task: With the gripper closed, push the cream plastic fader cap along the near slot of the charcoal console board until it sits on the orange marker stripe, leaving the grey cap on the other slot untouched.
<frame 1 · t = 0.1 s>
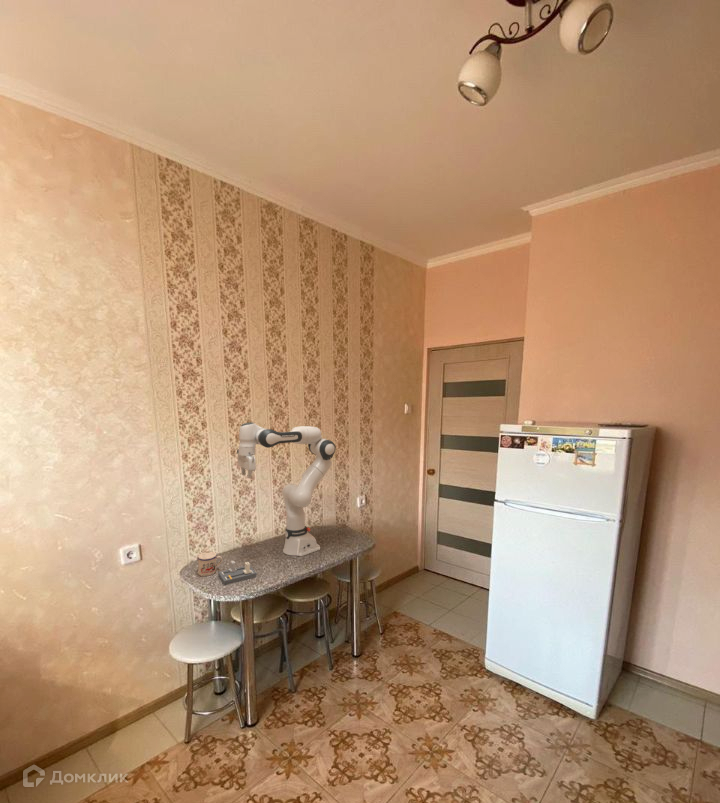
hand: (246, 476, 202), 48 cm above the table, fingers open, 8 cm apart
teacup with lid: (210, 572, 190), on the table
console: (237, 576, 186), on the table
fader cap: (247, 567, 186), point 5 cm above the table, slide at 0.0 cm
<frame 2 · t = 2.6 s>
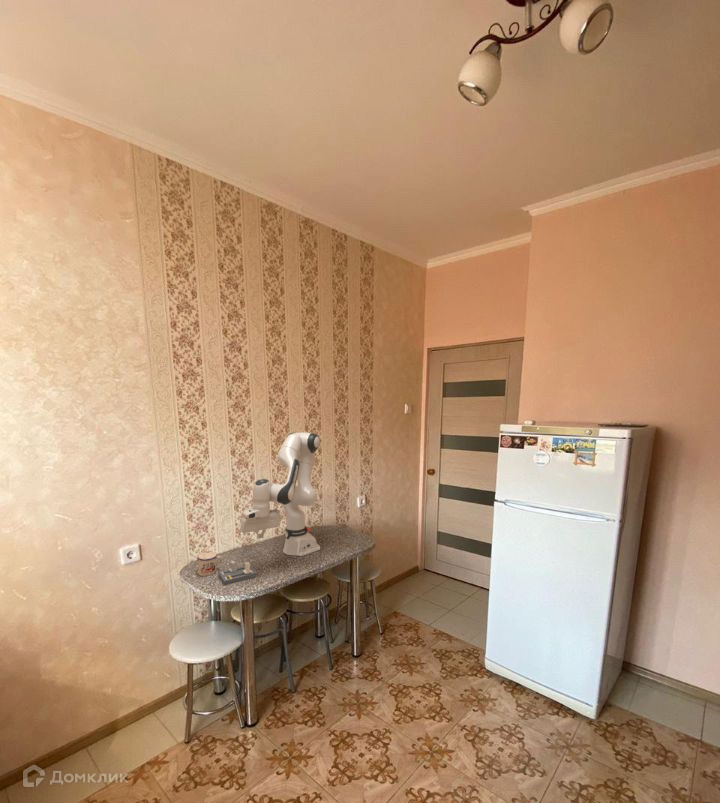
hand: (260, 537, 189), 19 cm above the table, fingers closed
nothing on the table moved.
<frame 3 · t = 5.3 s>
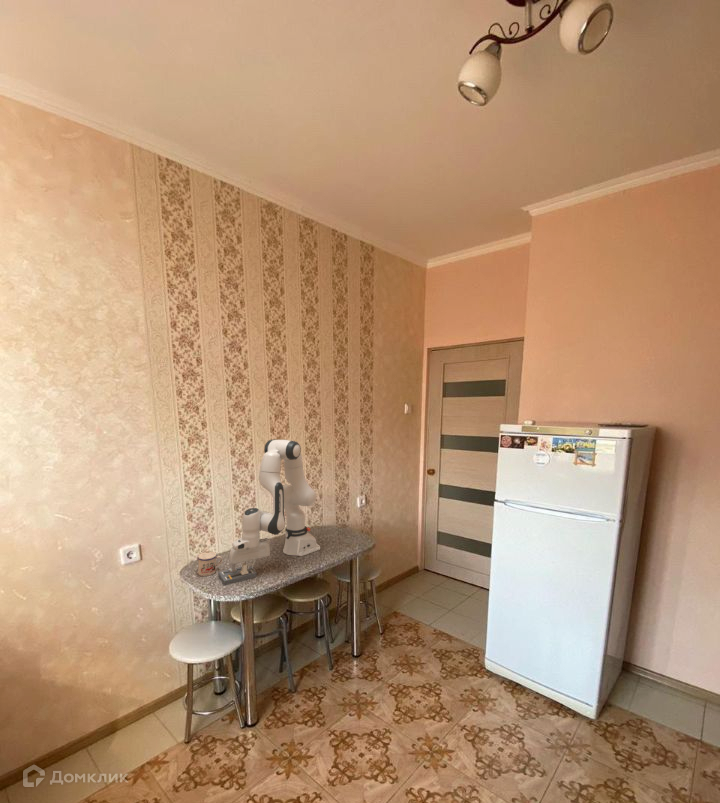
hand: (249, 568, 186), 4 cm above the table, fingers closed
fader cap: (244, 568, 185), point 5 cm above the table, slide at 1.5 cm, touching gripper
everything else where it was.
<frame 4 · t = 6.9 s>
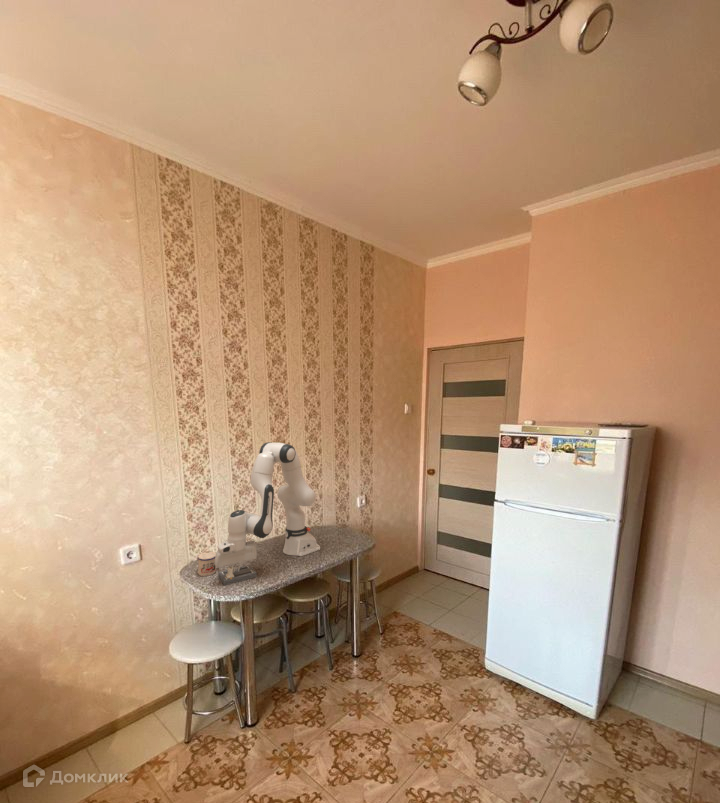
hand: (235, 571, 182), 4 cm above the table, fingers closed
fader cap: (230, 571, 181), point 5 cm above the table, slide at 8.6 cm, touching gripper
everything else where it was.
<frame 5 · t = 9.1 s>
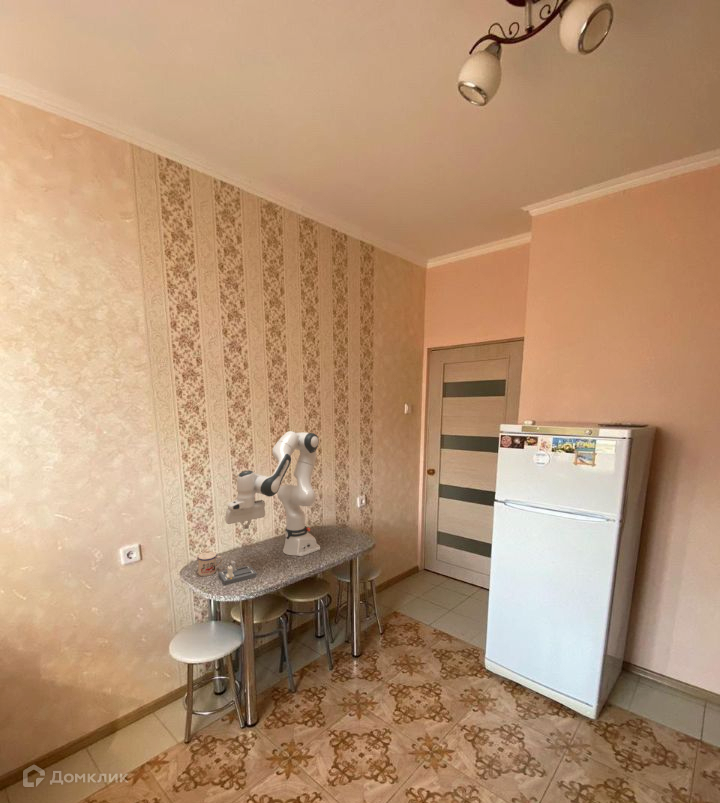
hand: (245, 528, 190), 23 cm above the table, fingers closed
fader cap: (230, 571, 181), point 5 cm above the table, slide at 8.6 cm
everything else where it was.
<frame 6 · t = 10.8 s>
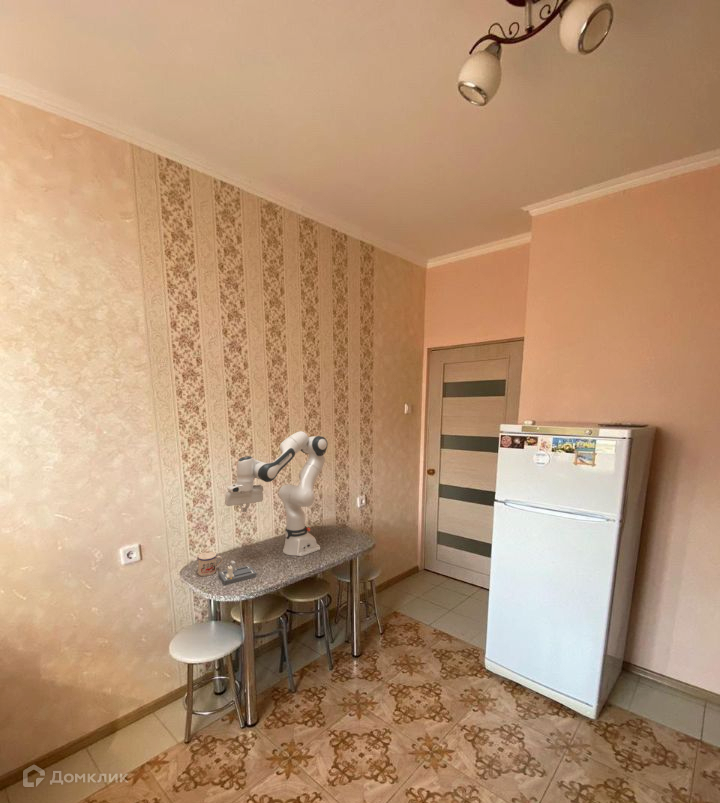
hand: (244, 511, 199), 29 cm above the table, fingers closed
nothing on the table moved.
at the end: fader cap slide at 8.6 cm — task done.
